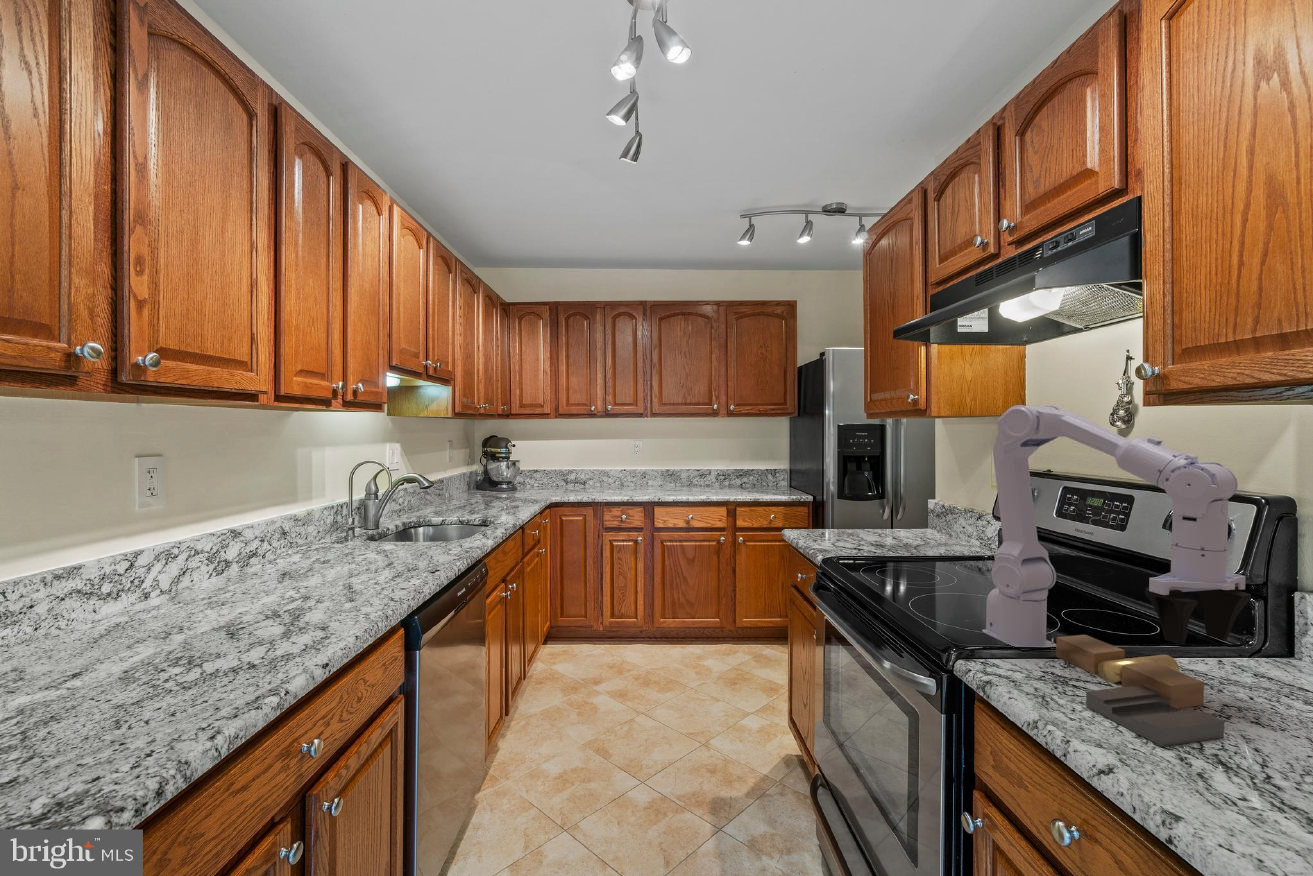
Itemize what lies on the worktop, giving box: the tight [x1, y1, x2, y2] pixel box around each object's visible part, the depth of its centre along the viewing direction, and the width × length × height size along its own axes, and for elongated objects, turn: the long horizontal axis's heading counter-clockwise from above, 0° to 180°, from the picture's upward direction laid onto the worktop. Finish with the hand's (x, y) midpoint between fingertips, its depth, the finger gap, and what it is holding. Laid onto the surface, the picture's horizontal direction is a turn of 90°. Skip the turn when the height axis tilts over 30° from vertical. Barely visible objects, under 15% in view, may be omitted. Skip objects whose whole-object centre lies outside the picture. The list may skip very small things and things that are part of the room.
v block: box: [1085, 685, 1225, 748], centre depth 76 cm, size 10×10×2 cm
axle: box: [1098, 654, 1180, 684], centre depth 89 cm, size 12×3×3 cm, turn 101°
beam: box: [1055, 634, 1205, 709], centre depth 88 cm, size 18×6×3 cm, turn 11°
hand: (1195, 640), depth 80 cm, fingers open, 7 cm apart
